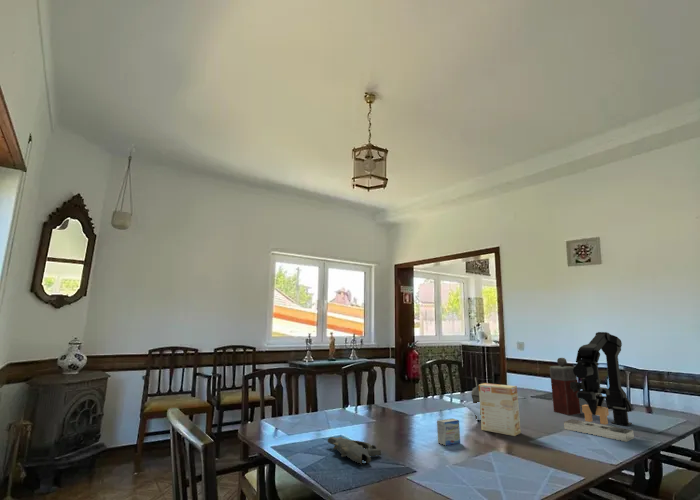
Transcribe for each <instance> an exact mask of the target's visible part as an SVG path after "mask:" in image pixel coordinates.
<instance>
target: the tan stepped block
mask: <svg viewBox="0 0 700 500" xmlns="http://www.w3.org/2000/svg"><path fill="white" fill-rule="evenodd" d="M581 411H582V412H581V413H584V420H585V422H590V423H593V414H592V412H591V410H590V408H589V406H588V404H582V405H581ZM609 415H610V414H609V409H608V407H607V406H602V407H600V406H597V410H596V414H595V416H599V421H600V422H599V423H600V424H601V425H606V426H608V425H609V420H608V416H609Z"/></svg>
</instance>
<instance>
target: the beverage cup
mask: <svg viewBox="0 0 700 500" xmlns="http://www.w3.org/2000/svg"><path fill="white" fill-rule="evenodd" d="M474 381H475V387H473V388H472V391H471V394H470V395H471V399H472V402H473V403H477V402H480V400H479V385H478V382H477V377H474ZM473 403H472V404H473ZM474 416H475V420H476V419H477V416H476V415H475V414H474Z"/></svg>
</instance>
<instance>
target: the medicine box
mask: <svg viewBox="0 0 700 500" xmlns="http://www.w3.org/2000/svg"><path fill="white" fill-rule="evenodd" d="M436 423H437V425H436V427H437V443H438V444H439V443H440V444H439V445H442V444H443V445H442V446H444V445H445V446H444V447H447V446H446V445H448V446H452V445H451V444H453V445H457V443H458V444H460V443H461V432H460V431H461V430H460V429H461V427H460V420H458V419H456V418H447V419H439V420H437V421H436Z"/></svg>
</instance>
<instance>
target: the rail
mask: <svg viewBox="0 0 700 500" xmlns="http://www.w3.org/2000/svg"><path fill="white" fill-rule="evenodd" d="M563 428H564V430H568V431H572V432H576V431H577V433H581V432H582V433H583V434H586V433H588V434H587V435H591V434H593V436H596V435H597V437H601V436H602V437H601V438H607V439H612V440H615V439H616V441H620V440H621V442H626V443H628V442H629V441H632V440H633V439H635V434H634V430H632V429H627V428H621V427H617V426H613V425H604V424H599V423H595V422H587V421H583V420H579V419H569V420H566V421H563Z"/></svg>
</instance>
